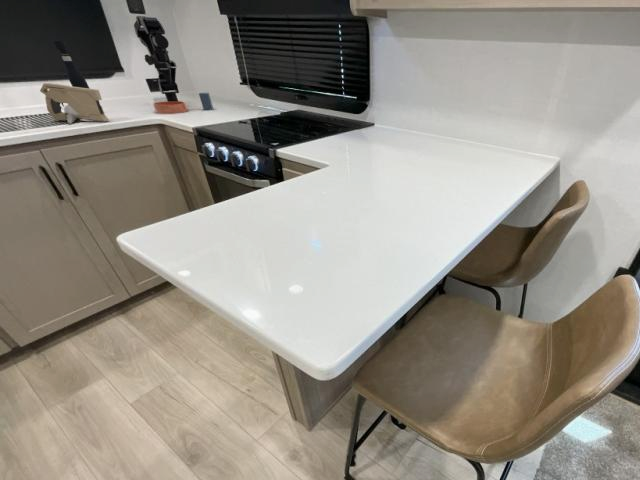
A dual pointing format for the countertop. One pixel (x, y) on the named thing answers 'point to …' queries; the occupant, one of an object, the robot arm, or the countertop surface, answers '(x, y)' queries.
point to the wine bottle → (71, 67)
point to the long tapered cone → (70, 114)
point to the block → (206, 101)
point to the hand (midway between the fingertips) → (172, 83)
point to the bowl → (170, 107)
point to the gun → (73, 101)
